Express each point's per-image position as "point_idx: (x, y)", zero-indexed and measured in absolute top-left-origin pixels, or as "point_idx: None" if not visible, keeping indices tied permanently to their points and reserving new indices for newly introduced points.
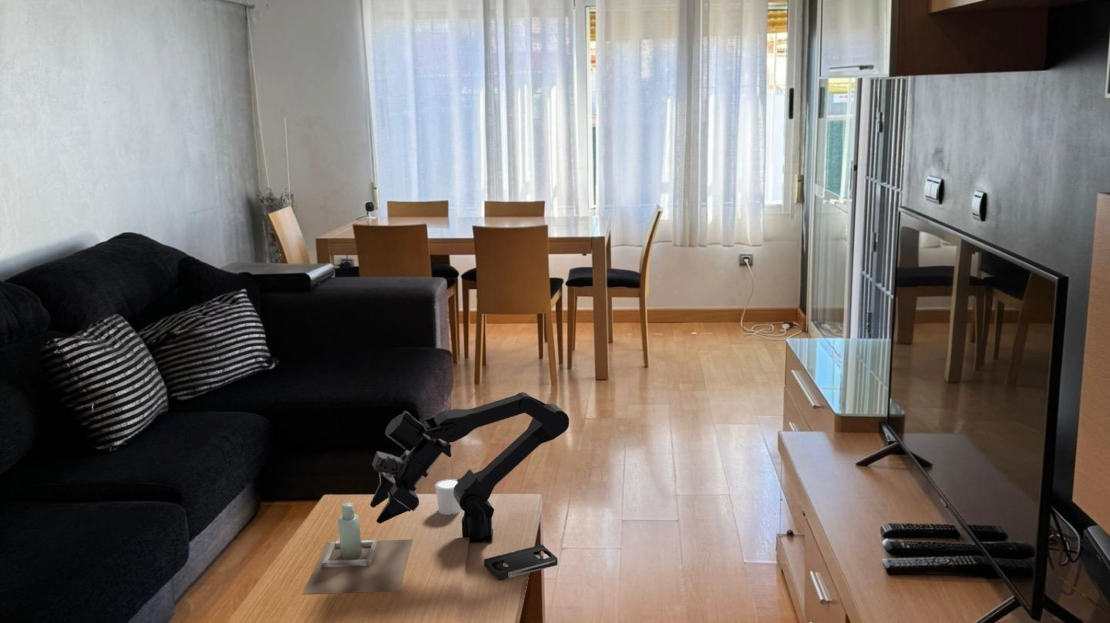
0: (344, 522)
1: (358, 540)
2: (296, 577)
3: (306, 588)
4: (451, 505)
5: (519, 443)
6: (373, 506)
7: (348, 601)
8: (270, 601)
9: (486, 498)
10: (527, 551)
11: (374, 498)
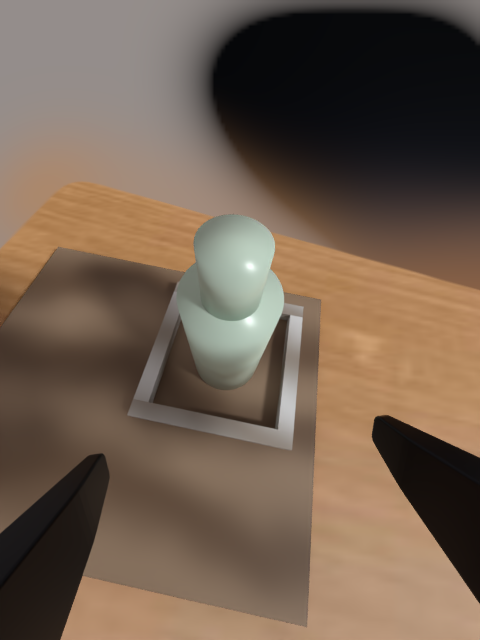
0: (183, 276)
1: (202, 367)
2: (175, 247)
3: (83, 255)
4: None
5: None
6: (377, 440)
7: None
8: (91, 208)
9: None
10: None
11: (422, 453)
